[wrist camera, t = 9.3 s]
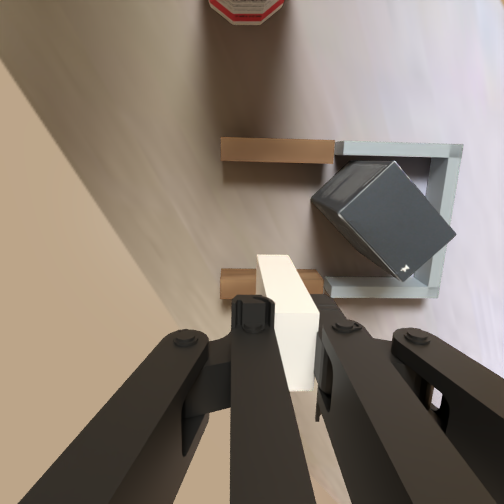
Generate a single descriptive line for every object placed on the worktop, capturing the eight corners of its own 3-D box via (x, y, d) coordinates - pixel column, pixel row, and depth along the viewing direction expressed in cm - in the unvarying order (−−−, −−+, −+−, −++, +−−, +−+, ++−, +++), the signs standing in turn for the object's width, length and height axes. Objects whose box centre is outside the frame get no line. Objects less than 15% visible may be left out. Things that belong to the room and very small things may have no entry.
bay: (335, 142, 35) (344, 140, 32) (445, 145, 36) (463, 144, 33) (323, 287, 39) (330, 297, 36) (423, 287, 40) (437, 298, 37)
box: (398, 214, 38) (460, 235, 27) (357, 251, 38) (401, 286, 28) (350, 157, 36) (396, 158, 26) (307, 198, 37) (336, 214, 26)
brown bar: (222, 138, 35) (220, 137, 31) (325, 141, 35) (334, 140, 32) (221, 286, 39) (220, 298, 35) (314, 287, 39) (322, 299, 36)
